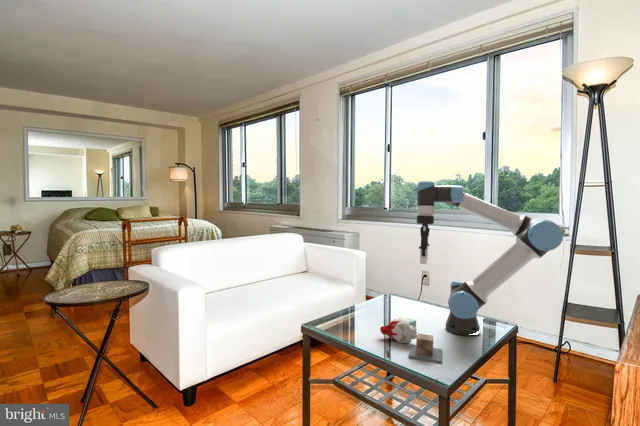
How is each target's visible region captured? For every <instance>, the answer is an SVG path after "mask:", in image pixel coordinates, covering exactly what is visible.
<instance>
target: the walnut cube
mask: <svg viewBox="0 0 640 426" xmlns="http://www.w3.org/2000/svg"><path fill="white" fill-rule="evenodd" d="M415 345H416V354H419V355H425V356H431V357H433V348H434V335H433V334H432V335H431V334H426V333H418V332H417V338H416V343H415Z"/></svg>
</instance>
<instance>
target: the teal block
mask: <svg viewBox="0 0 640 426" xmlns="http://www.w3.org/2000/svg"><path fill="white" fill-rule="evenodd" d="M408 319H409V325H411V326H413V327H415V328H416V329H417V320H416V319H412V318H409V317H408Z"/></svg>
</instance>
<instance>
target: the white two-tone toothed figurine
mask: <svg viewBox="0 0 640 426" xmlns="http://www.w3.org/2000/svg"><path fill="white" fill-rule="evenodd" d="M379 331H380V334H382V335H384V336H385V335H386V336H389V338H391V339H392V340H393V341H397V342H398V343H399V344H410V343H411V342H412V341H413V340H417V334H418V332H417V327H416V328H415V327H413V326H411V325H409V323H408V322H407V321H406V320H403V319H399V320H398V319H397V318H395V319H392V320H391V321H390V323H388V324H387V325H384V326H383V325H382V326H380V329H379Z"/></svg>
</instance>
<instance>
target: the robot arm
mask: <svg viewBox="0 0 640 426" xmlns="http://www.w3.org/2000/svg"><path fill="white" fill-rule="evenodd" d="M416 195H417V198H416V199H417V201H416V202H417V203H416V205H417V207H415V210H416V224H418V225H419V224H420V225H421V227H420V229H419V230H420V246H418V249H419V250H420V251H419V253H420V254H419V264H420V265H427V261H428V260H429V259H428V258H429V256H428V252H429V247H430V243H429V236H430V227H429V225H434V223H435V217H434V215H435V203H444V204H445V203H446V204H449V205H451V206H454V207H456V208H459V209H461V210H464V211H466V212H467V213H470V214H472V215H475V216H477V217H479V218H481V219H483V220H485V221H488V222H490V223H493V224H494V225H496V226H499V227H501V228H503V229H506V230H508V231H511V233H512V235H514V236H515V243H514V244H513V245H512V246H511V247H510V248H508V249H507V250H506V251H505V252H504V253H503V254H501V255H500V256H499V257H497V259H496V260H494V261H493V262H492V263H490V265H489V266H487V267H486V268H485V269H484V270H483V271H482V272H481V273H479V275H477V276H476V277H475V278H473V280H466V281H458V280H453V281H451V282H450V294H449V297H448V301H447V304H448V308H449V314H448V317H447V319H446V322H445V327H446V328H445V329H446V331H448V332H449V333H451V334H454V335H458V334H459V336H463V335H469V334H473V333H476V332H477V331H479V329H480V330H481V327H480V323H479V319H478V316H477V314H478V312H479V310H480V309H481V308H482V307H483V306H485V305H486V304H487V303H488V297H490V295H492V294H493V293H494V292H495V291H496V290H497V289H498V288H500V287H501V286H502V285H503V284H505V283H506V282H507V281H508V280H509V279H511V278H512V277H513V276H515V274H516V273H518V272H519V271H520V270H522V269H523V268H524V267H525V266H526V265H527V264H529V263H530V262H531V261H532V260H533V259H541V258H542V257H544V256H545V255H546V254H547V253H548V252H549V251H553V250H555V249H557V248H558V247H560V246H561V244H562V242H563V239H564V233H563V231H562V230H563V229H562V228H561V227H560V226H559V225H558V224H557V223H555V222H554V221H551V220H549V219H537V218H534V217H530V216H527V215H525V214H524V215H518V214H516V213H515V212H512V211H508V210H507V209H504V208H502V207H499V206H497V205H495V204H493V203H490V202H487V201H485V200H482V199H480V198H478V197H475V196H473V195H472V194H470V193H467V192H464V186H463V185H457V184H456V185H455V184H454V185H436V182H435V181H434V180H433V181H432V180H421V181H419V182H418V184H417V194H416Z"/></svg>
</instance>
